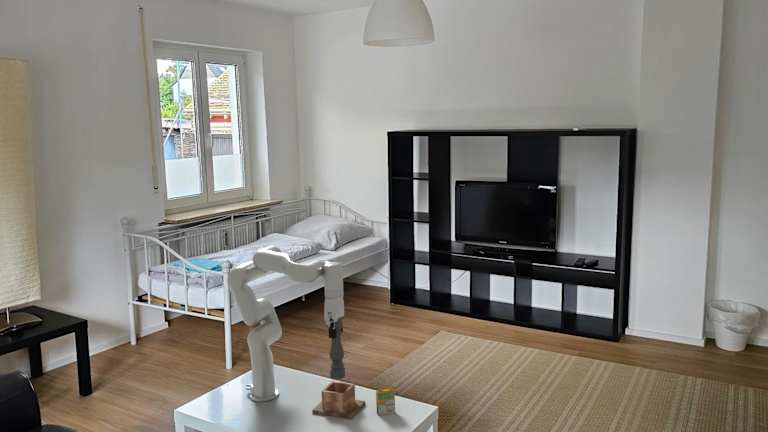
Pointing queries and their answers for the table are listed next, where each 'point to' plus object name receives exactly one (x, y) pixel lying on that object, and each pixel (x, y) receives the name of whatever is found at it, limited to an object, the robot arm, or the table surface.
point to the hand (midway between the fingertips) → (335, 334)
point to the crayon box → (385, 401)
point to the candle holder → (337, 354)
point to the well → (339, 401)
